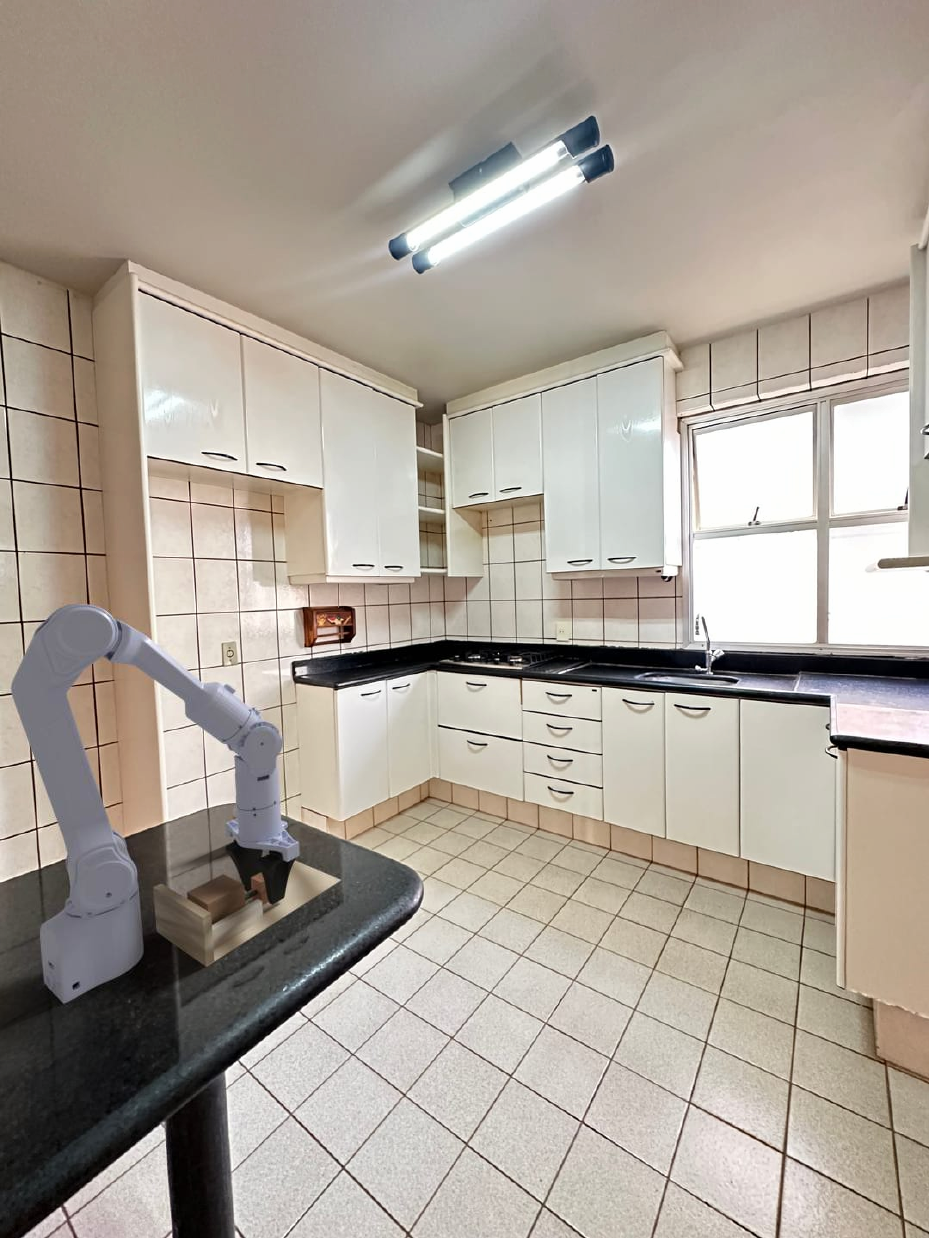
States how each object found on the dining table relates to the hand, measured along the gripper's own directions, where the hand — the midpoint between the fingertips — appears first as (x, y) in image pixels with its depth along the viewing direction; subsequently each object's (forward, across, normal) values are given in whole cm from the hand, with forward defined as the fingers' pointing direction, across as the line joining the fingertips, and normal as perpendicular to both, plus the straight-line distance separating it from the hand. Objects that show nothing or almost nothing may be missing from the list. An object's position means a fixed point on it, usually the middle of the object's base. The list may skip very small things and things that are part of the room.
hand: (264, 894), depth 75 cm
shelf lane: (+1, 0, +2) cm, 2 cm away
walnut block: (+1, 0, +4) cm, 4 cm away
